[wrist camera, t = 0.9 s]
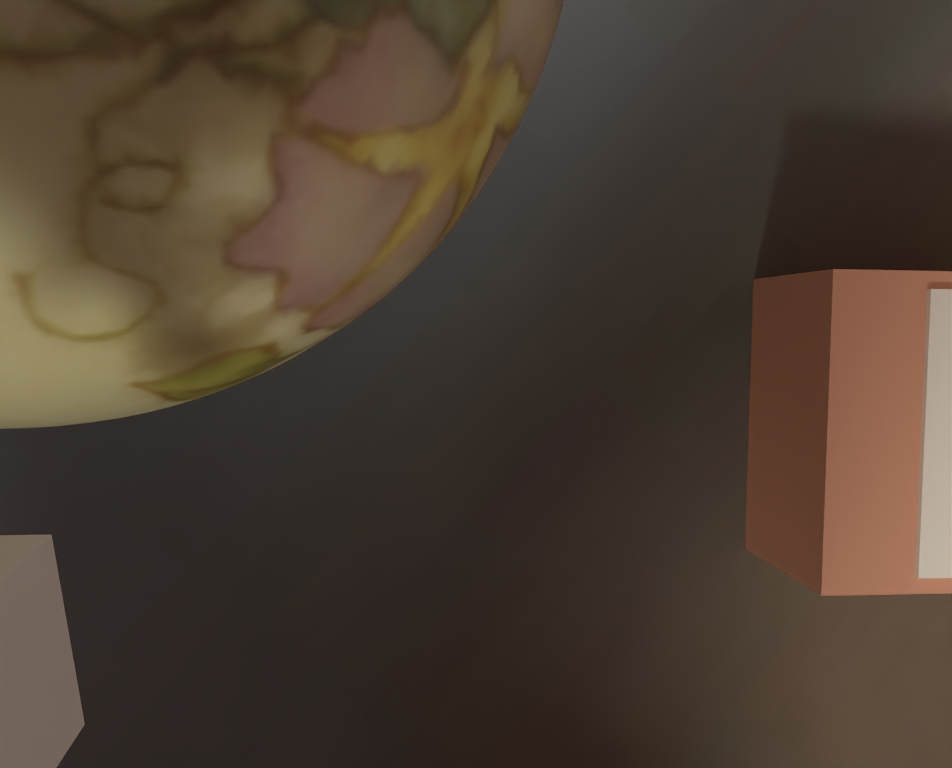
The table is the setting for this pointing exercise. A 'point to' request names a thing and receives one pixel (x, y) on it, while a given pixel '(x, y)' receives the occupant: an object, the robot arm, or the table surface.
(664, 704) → the table surface
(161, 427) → the table surface
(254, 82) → the pitcher
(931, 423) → the card box
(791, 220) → the table surface
